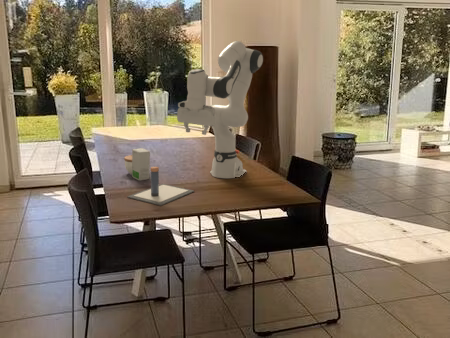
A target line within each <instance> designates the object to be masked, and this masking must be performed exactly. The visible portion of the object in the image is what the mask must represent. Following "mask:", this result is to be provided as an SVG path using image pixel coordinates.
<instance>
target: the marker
mask: <svg viewBox="0 0 450 338" xmlns="http://www.w3.org/2000/svg"><path fill="white" fill-rule="evenodd" d="M159 170H160V168H159V166H151V167H150V188H151V196H153V197H156V196H159V185H160V183H159V181H160V180H159V177H160V175H159V173H160V171H159Z"/></svg>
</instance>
